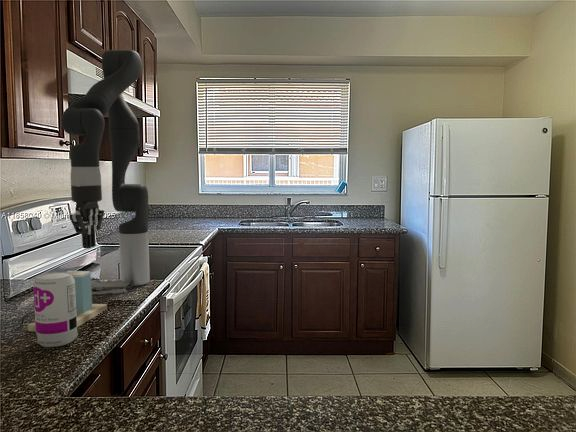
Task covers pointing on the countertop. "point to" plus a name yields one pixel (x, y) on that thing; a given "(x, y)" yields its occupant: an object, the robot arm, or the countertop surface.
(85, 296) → the block
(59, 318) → the supplement can
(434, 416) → the countertop surface
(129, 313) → the countertop surface
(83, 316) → the board
